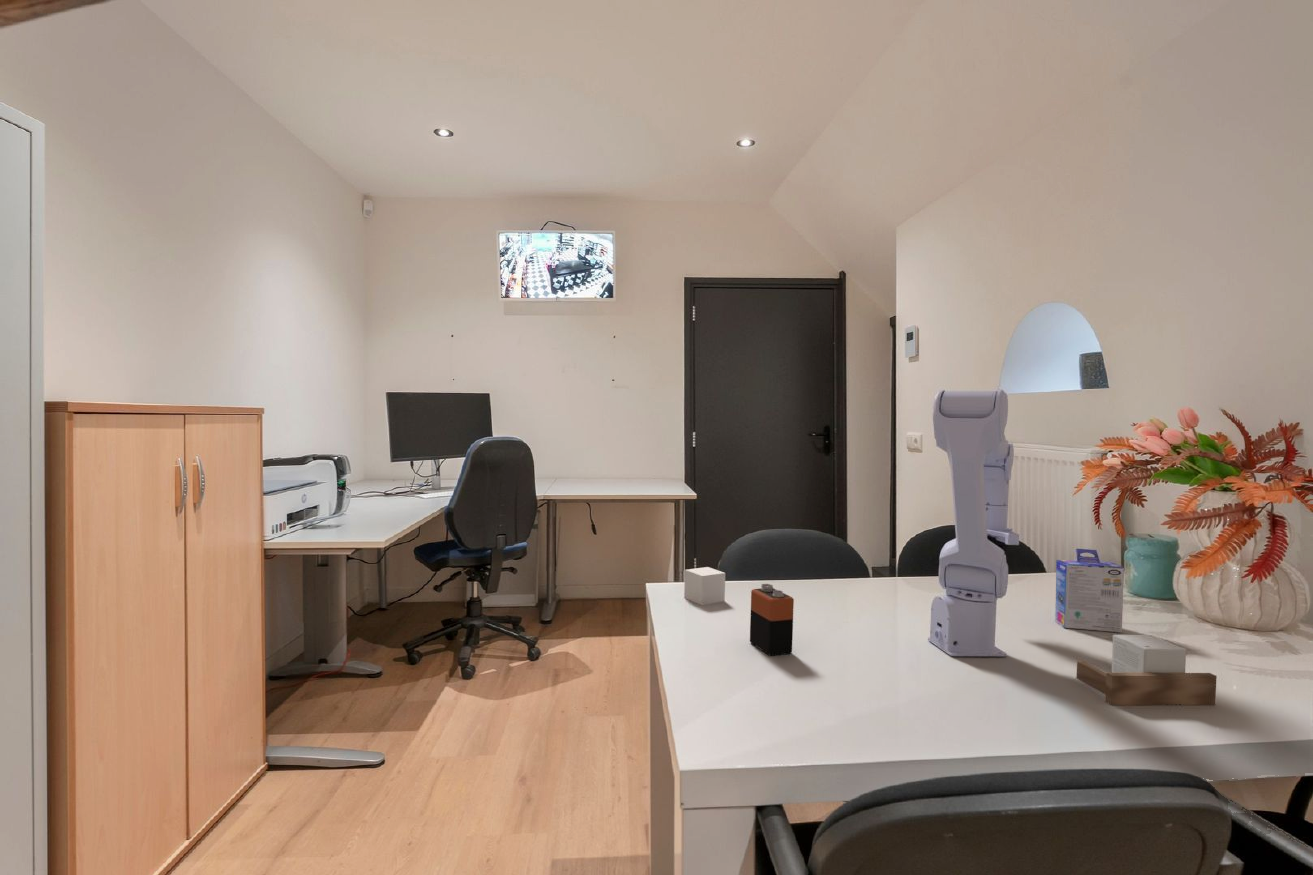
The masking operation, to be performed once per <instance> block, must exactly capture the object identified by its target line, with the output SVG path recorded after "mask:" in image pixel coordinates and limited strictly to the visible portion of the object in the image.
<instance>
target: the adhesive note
mask: <svg viewBox="0 0 1313 875" xmlns="http://www.w3.org/2000/svg"><path fill="white" fill-rule="evenodd" d="M683 594H684V595H683V598H684V599H686V600H689V601H691V602H693V603H696V604H698V605H700V606H705V605H709V604H710V605H712V604H716V603H723V602H725V599H726V598H725V596H726V572H724V571H721V570H717V569H715V568H712V567H709V566H705V567H698V568H690V569H685V570H684V593H683Z"/></svg>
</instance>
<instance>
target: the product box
mask: <svg viewBox="0 0 1313 875" xmlns="http://www.w3.org/2000/svg"><path fill="white" fill-rule="evenodd" d="M1111 649H1112V650H1111V651H1112V652H1111V653H1112V655H1111V673H1186V663H1187V660H1186V659H1187V649H1186V648H1184V647H1181V646H1178V645H1175V644H1174V643H1171V642H1169V641H1166V640H1163V639H1161V638H1159V637H1156V636H1155V635H1152V634H1114V635H1113V634H1112V648H1111Z"/></svg>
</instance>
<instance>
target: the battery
mask: <svg viewBox="0 0 1313 875" xmlns="http://www.w3.org/2000/svg"><path fill="white" fill-rule="evenodd" d="M750 592H751V594H750V599H751V600H750V620H749V621H750V624H749V626H750V627H749V642H750V643H751V644H752V645H754V646H755V647H757V648H758V649H760V650H761V651H762V652H764V653H766V654H767V655H769V656H779V655H788V654H792V653H793V633H794V632H793V630H794V627H793V626H794V603H795V602H794V598H793V596H790V595H788V594H787V593H784V591H783V590H780V589H776V588H774V585H773V584H770V583H761V588H754V589H751V591H750Z"/></svg>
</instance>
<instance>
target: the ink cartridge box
mask: <svg viewBox="0 0 1313 875" xmlns="http://www.w3.org/2000/svg"><path fill="white" fill-rule="evenodd" d="M1075 552H1076V559H1077V560H1069V559H1068V560H1067V559H1056V561H1055V563H1056V565H1055V566H1056V567H1055V568H1056V570H1055V613H1054V616H1055V617H1054V621H1055V622H1056V621H1057V622H1058V625H1060V626H1061V625H1062V626H1061V627H1062V628H1066V629H1076V630H1078V629H1079V630H1086V631H1087V630H1089V631H1100V632H1113V633H1122V632H1123V612H1124V611H1123V610H1124V609H1123V608H1124V607H1123V606H1124V605H1123V604H1124V580H1125V579H1124V578H1125V567H1123V566H1121V565H1118V564H1116V563H1114V562H1111V561H1100V557H1099V554H1098V551H1097V549H1089V548H1088V549H1087V548H1075ZM1084 553H1085V554H1086V553H1088V554H1091V555H1093V556H1082V555H1081V554H1084ZM1057 622H1056V623H1057Z"/></svg>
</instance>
